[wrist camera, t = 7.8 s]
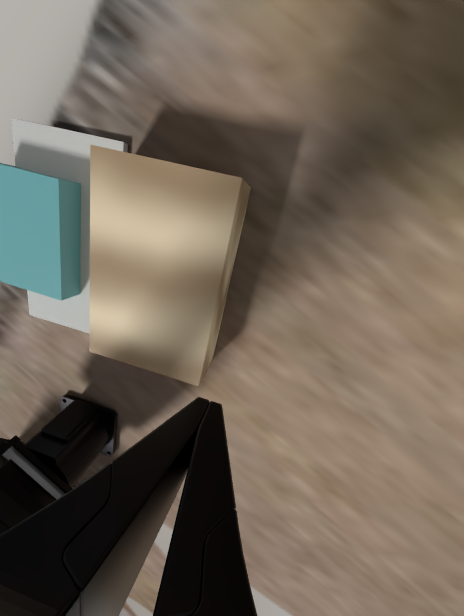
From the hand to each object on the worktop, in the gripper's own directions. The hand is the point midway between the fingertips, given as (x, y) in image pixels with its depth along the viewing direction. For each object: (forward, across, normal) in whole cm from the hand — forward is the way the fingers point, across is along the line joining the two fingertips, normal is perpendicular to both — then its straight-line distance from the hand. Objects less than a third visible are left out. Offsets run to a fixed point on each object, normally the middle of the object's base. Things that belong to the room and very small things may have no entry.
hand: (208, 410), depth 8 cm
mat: (+12, +16, -1) cm, 20 cm away
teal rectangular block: (+10, +18, -1) cm, 20 cm away
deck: (+12, +6, -1) cm, 14 cm away
